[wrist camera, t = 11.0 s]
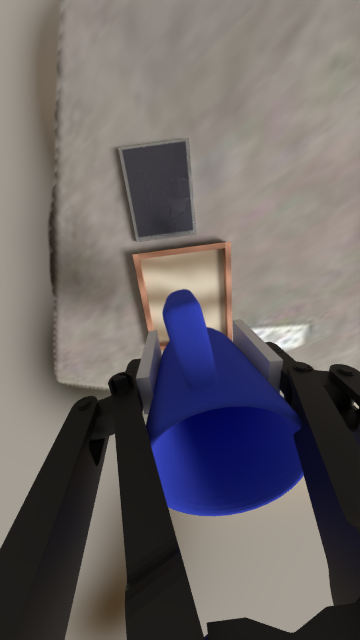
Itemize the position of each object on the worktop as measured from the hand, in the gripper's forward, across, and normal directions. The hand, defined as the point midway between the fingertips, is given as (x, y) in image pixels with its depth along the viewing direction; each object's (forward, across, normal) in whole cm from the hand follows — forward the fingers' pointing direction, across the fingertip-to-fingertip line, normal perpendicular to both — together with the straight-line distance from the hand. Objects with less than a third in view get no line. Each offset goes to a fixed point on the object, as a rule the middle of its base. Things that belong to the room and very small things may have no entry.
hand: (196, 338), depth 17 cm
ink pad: (+15, -2, +15) cm, 22 cm away
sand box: (+15, 0, 0) cm, 15 cm away
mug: (+1, 0, 0) cm, 1 cm away
